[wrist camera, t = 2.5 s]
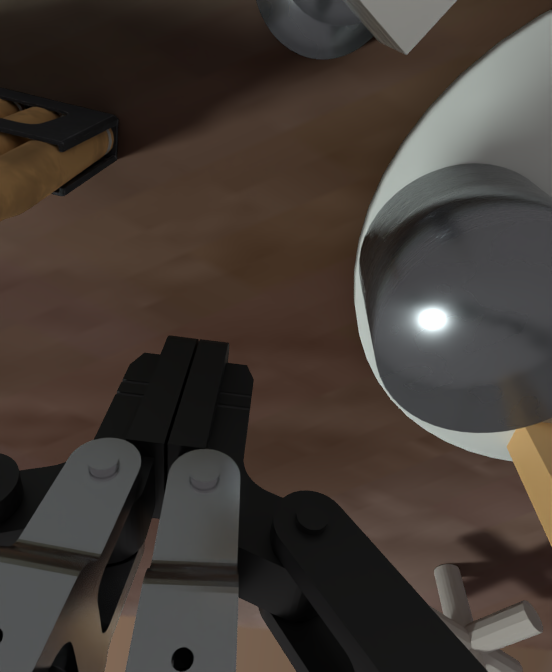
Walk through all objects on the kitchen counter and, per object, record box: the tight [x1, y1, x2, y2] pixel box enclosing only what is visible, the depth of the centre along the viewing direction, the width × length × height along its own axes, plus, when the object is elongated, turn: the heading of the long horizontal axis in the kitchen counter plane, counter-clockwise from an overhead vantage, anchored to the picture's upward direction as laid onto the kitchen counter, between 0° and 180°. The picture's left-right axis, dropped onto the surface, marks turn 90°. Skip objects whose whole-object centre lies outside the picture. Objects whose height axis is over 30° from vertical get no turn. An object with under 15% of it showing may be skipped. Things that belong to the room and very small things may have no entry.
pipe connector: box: [430, 564, 543, 672], centre depth 32 cm, size 10×10×10 cm
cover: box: [359, 163, 552, 433], centre depth 18 cm, size 8×8×6 cm
